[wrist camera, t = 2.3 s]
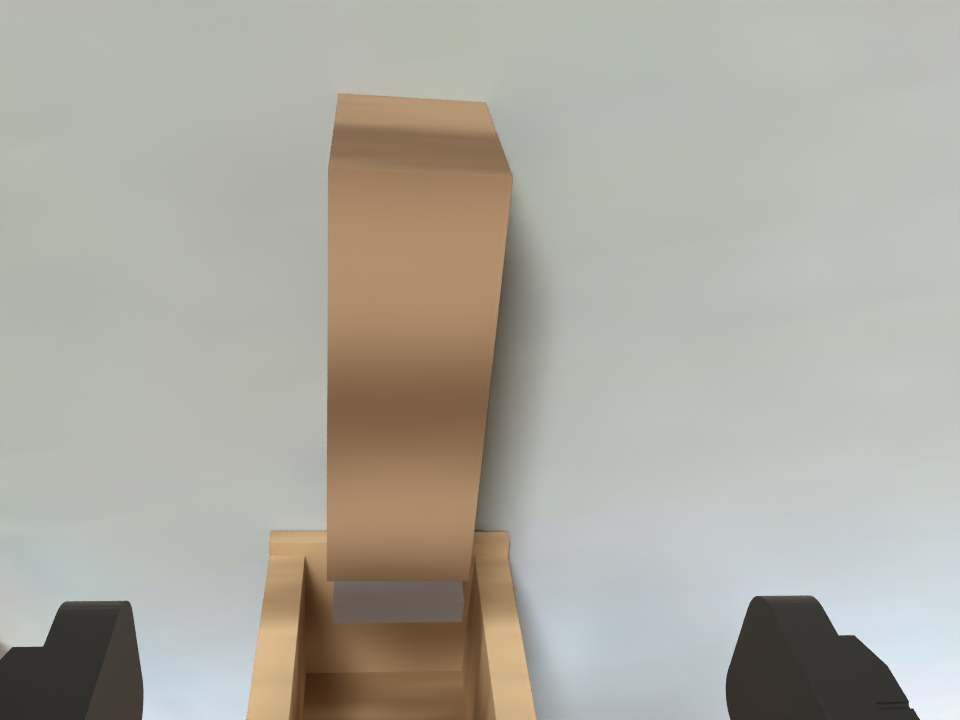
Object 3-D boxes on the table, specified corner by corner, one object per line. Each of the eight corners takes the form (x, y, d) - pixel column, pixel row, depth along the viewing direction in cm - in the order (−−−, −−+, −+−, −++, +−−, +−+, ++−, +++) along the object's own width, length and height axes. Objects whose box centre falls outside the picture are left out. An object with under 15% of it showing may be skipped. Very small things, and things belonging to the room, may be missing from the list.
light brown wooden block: (338, 93, 25) (326, 180, 19) (485, 102, 25) (517, 190, 19) (334, 472, 31) (324, 623, 25) (452, 473, 32) (469, 621, 26)
